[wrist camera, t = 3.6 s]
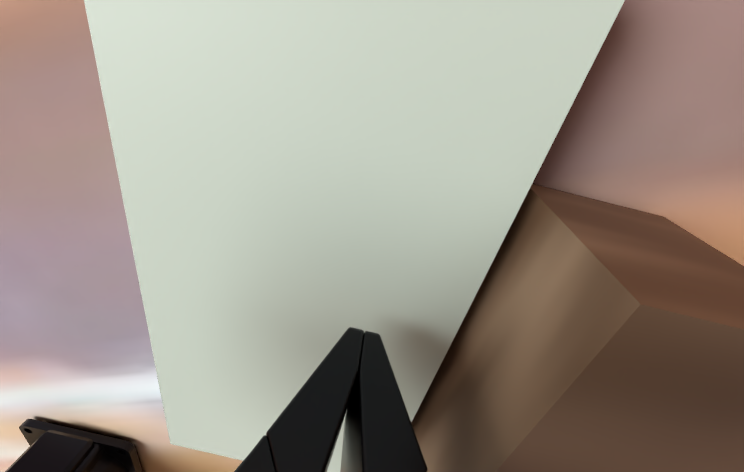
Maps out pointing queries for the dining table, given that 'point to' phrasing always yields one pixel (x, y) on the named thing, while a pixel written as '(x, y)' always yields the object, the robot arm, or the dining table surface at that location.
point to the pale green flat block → (322, 180)
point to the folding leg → (593, 350)
